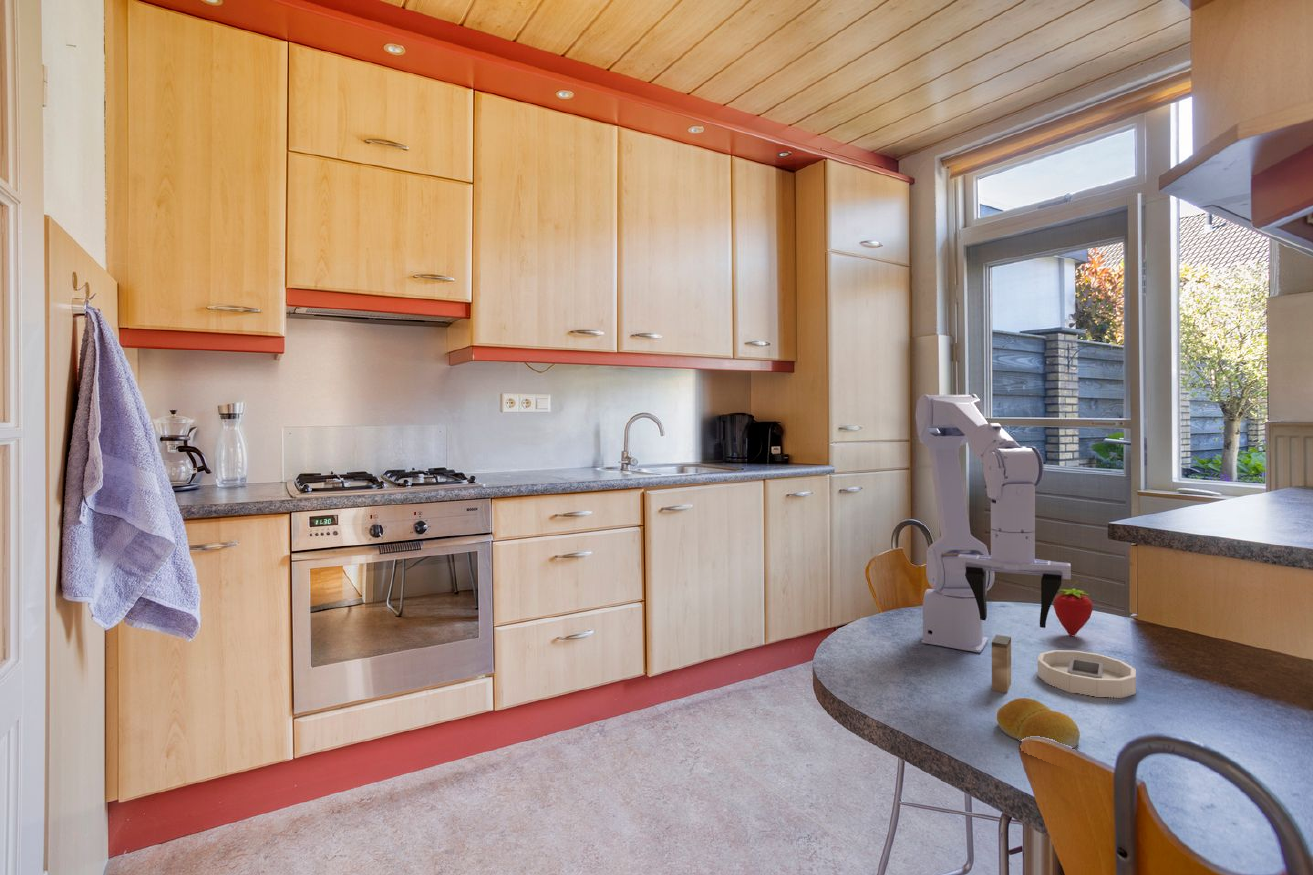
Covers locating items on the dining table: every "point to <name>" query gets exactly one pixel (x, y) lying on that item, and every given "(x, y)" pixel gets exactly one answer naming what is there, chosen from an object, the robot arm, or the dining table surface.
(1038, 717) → the bread roll
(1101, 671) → the beige faceted bowl
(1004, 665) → the tan cardboard box
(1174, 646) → the dining table surface
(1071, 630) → the strawberry
